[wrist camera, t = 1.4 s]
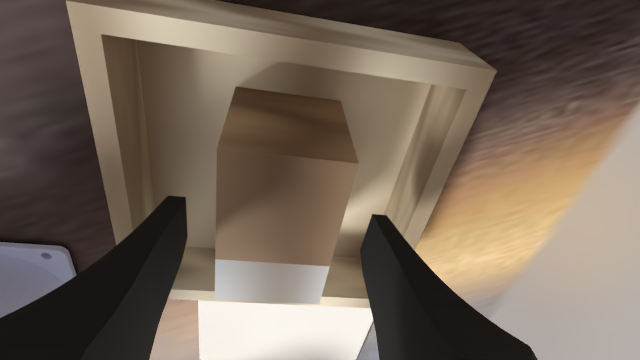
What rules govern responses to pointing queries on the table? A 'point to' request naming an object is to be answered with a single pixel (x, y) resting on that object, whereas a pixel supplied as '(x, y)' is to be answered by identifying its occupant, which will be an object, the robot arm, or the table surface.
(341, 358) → the ceramic trivet
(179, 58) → the birch crate
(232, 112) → the walnut block
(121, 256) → the robot arm
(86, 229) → the table surface
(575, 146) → the table surface
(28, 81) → the table surface
